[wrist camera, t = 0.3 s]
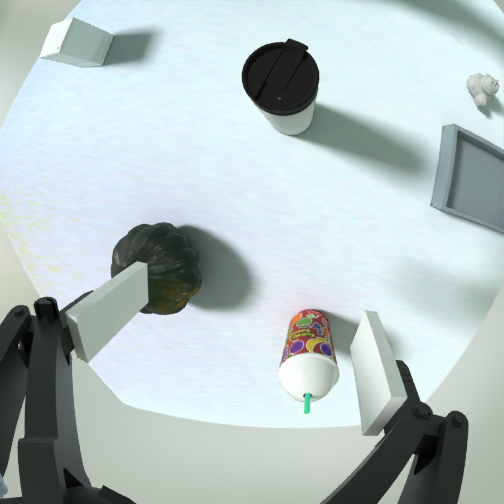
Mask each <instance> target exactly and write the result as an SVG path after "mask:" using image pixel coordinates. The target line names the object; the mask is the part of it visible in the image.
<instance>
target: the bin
mask: <svg viewBox="0 0 504 504" xmlns="http://www.w3.org/2000/svg"><path fill="white" fill-rule="evenodd" d="M430 206H433V207H435V208H438V209H440V210H443V211H446V212H449V213H452V214H455V215H457V216H460V217H463V218H466V219H469V220H472V221H474V222H477V223H480V224H482V225H485V226H487V227H490V228H493V229H495V230H498V231H500V232H502V233H504V150H503V149H501V148H499V147H498V146H496V145H494V144H492V143H491V142H489V141H487V140H485V139H483V138H482V137H480V136H478V135H476V134H474V133H472V132H470V131H468V130H466V129H464V128H462V127H460V126H458V125H455V124H452V125H446V126H443V128H442V138H441V147H440V155H439V162H438V168H437V174H436V180H435V185H434V191H433V196H432V200H431V205H430Z"/></svg>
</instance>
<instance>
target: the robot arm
mask: <svg viewBox="0 0 504 504" xmlns="http://www.w3.org/2000/svg"><path fill="white" fill-rule="evenodd" d="M147 303H148V278H147V264H146V263H142V262H138V261H137V262H135V263H134V264H132V265H131V266H129V267H128V268H126V269H125V270H123V271H122V272H121V273H119V274H118V275H116V276H115V277H113V278H112V279H110V280H109V281H108V282H106V283H105V284H103V285H102V286H100V287H99V288H98V289H96V290H95V291H93V290H92V291H89V292H87V293H84V294H83V295H81V296H80V297H79V298H78V299H76V300H74V302H72V303H70V304H69V305H67V306H66V307H65V308H63V309H62V310H61V311H59V310H58V306H57V301H56V300H55V299H54V298H52V297H42V298H40V299H38V300H37V301H35V303H34V309H35V313H36V316H33V315H30V311H29V308H28V307H27V306H24V305H19V306H15V307H14V308H12V309H11V310H10V312H9V313H8V314H7V316H6V317H5V319H4V320H3V322H2V323H1V325H0V504H136V503H134V502H133V501H132V500H130V499H129V498H127V497H125V496H123V495H121V494H119V493H117V492H115V491H113V490H111V489H109V488H107V487H106V486H104V485H103V487H102V488H101V489H100V488H95V487H92V486H91V483H90V481H89V479H88V477H87V475H86V473H85V470H84V467H83V463H82V457H81V452H80V446H79V440H78V434H77V428H76V419H75V410H74V398H73V383H72V356H71V353H70V352H71V351H72V350H73V349H75V352H76V355H77V357H78V358H80V359H81V360H84V361H85V362H87V363H88V362H89V361H90V360H91V359H92V358H93V357H94V356H95V355H96V354H97V353H98V352H99V351H100V350H101V349H102V348H103V347H104V346H105V345H106V344H107V343H108V342H109V341H110V340H111V339H112V338H113V337H114V336H115V335H116V334H117V333H118V332H119V331H120V330H121V329H122V328H123V327H124V326H125V325H126V324H127V323H128V322H129V321H130V320H131V319H132V318H133V317H134V316H135V315H136V314H137V313H138V312H139V311H140V310H141V309H142V308H143V307H144V306H145V305H146V304H147ZM18 344H20V346H19V348H18ZM350 350H351V356H352V362H353V368H354V374H355V380H356V387H357V394H358V401H359V408H360V416H361V425H362V434H363V435H364V436H365V435H366V436H368V435H369V436H378V435H379V433H380V432H381V431H382V430H383V429H384V433H385V436H384V437H383V438H382V439H381V440H380V441H379V442H378V444H377V445H376V446H375V448H374V449H373V450H372V451H371V453H370V454H369V455H368V456H367V457H366V458H365V459H364V461H363V462H362V463H361V464H360V465H359V466H358V467H357V468H356V469H355V470H354V471H353V472H352V474H351V475H350V476H349V477H348V478H347V479H346V480H345V481H344V482H343V483H342V484H341V485H340V486H339V487H338V488H336V490H334V492H332V493H331V494H330V495H329V496H328V497H327V498H326V499H325V500H323V501H322V502H321V503H320V504H377V503H378V502H379V501H380V499H381V498H382V497H383V496H384V494H385V493H386V492H387V491H388V489H389V488H390V487H391V485H392V484H393V482H394V481H395V480H396V478H397V477H398V476H399V474H400V472H401V471H402V470H403V468H404V467H405V465H406V464H407V462H408V460H409V459H410V457H411V456H412V454H415V456H414V460H413V463H412V466H411V469H410V472H409V475H408V478H407V480H406V483H405V486H404V489H403V491H402V494H401V496H400V499H399V501H398V504H457V502H458V498H459V493H460V489H461V484H462V479H463V473H464V466H465V458H466V451H467V440H468V420H467V418H466V416H465V415H463V413H461V412H459V411H451V412H450V413H449V414H448V415H447V416H446V417H441V416H438V415H434V414H433V412H432V410H431V408H430V407H429V406H428V405H427V404H425V403H423V402H421V401H420V399H419V396H418V393H417V390H416V387H415V384H414V382H413V379H412V376H411V373H410V371H409V368H408V367H407V365H406V364H405V363H404V362H403V361H401V360H395V358H394V355H393V352H392V350H391V347H390V344H389V342H388V339H387V336H386V334H385V331H384V329H383V326H382V324H381V321H380V319H379V316H378V314H377V312H373V311H367V310H365V312H364V314H363V317H362V320H361V322H360V325H359V327H358V330H357V332H356V335H355V337H354V339H353V342H352V344H351V346H350ZM25 395H26V401H25V436H24V438H22V439H19V441H18V464H19V475H20V484H21V491H22V497H15V498H3V495H5V494H7V492H8V488H7V486H6V485H5V484H4V481H3V476H4V474H5V471H6V468H7V465H8V460H9V456H10V451H11V446H12V441H13V437H14V433H15V429H16V425H17V421H18V418H19V414H20V411H21V408H22V404H23V401H24V398H25Z"/></svg>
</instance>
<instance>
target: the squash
mask: <svg viewBox="0 0 504 504" xmlns="http://www.w3.org/2000/svg"><path fill="white" fill-rule="evenodd" d="M189 246H190V241H189V239H188V238H187V237H186V236H185V235H183V234H180V233H178V232H177V230H176V228H175V227H174V226H173V225H172V224H170V223H165V222H162V223H157V224H154V225H149V224H141V225H138V226H136V227H134V228H133V229H132V230H130V231H129V232H128V234H127V236H125V237H123V238H122V239H121V240H120V241H119V242H118V243H117V245H116V246H115V248H114V250H113V255H112V265H111V278H113V277H115V276H116V275H118V274H119V273H121V272H122V271H123V270H125V269H126V268H128V267H129V266H131V265H132V264H134V263H135V262H137V261H138V262H142V263H146V264H147V278H148V303H147V304H146V305H145V306H144V307H143V308H142V309H141V310H140V311H139V312H141V313H144V314H152V313H154V314H158V315H168V314H174V313H178V312H180V311H181V310H182V309H183V308H184V307H185V306H186V304H187V303H188V301H189V298H190V297H191V296H193V295H194V294H195V293H196V292H197V291H198V290H199V288H200V286H201V282H202V276H201V273H200V270H199V269H198V268H197V264H198V261H199V254H198V252H197V251H196V250H195V249H193V248H189Z"/></svg>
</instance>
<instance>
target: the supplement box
mask: <svg viewBox="0 0 504 504" xmlns="http://www.w3.org/2000/svg"><path fill="white" fill-rule="evenodd" d="M113 37H114V35H112V34H110V33H108V32H106V31H104V30H101V29H99V28H97V27H95V26H92V25H90V24H88V23H85V22H83V21H81V20H78V19H76V18H71V19H68V20H65V21H62V22H59V23H56V24H53V25H52V27H51V29H50V31H49V33H48V36H47V38H46V40H45V43H44V46H43V48H42V51H41V54H40V57H39V58H43V59H47V60H52V61H57V62H61V63H66V64H70V65H74V66H77V67H92V66H102V65H103V63H104V60H105V57H106V55H107V52H108V50H109V47H110V44H111V42H112V40H113Z"/></svg>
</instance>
